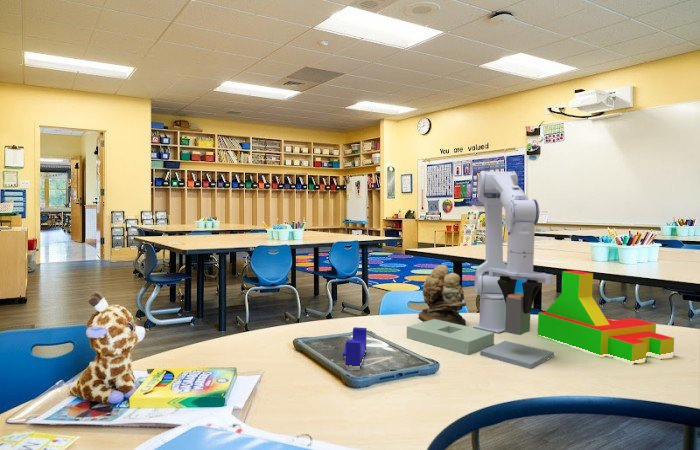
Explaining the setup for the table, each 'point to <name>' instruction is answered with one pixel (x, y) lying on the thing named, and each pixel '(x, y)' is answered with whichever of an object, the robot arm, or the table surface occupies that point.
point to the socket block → (451, 336)
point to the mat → (517, 354)
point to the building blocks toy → (597, 324)
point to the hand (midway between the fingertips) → (518, 311)
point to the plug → (516, 315)
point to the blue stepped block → (355, 347)
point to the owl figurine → (443, 297)
